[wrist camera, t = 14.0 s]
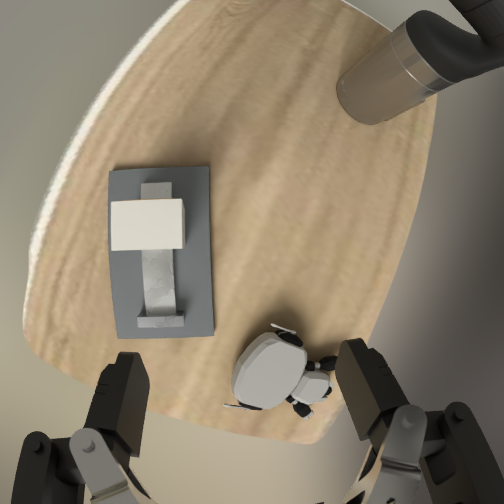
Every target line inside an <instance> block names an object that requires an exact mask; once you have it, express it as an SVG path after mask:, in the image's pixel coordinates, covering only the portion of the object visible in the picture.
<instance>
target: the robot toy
mask: <svg viewBox="0 0 504 504" xmlns="http://www.w3.org/2000/svg"><path fill="white" fill-rule="evenodd" d="M271 325H272V326H273V327H277V328H280V329H283V330H277V331H275V332H265V333H264V334H262V335H260V336H258V337H257V338H256V339H255V340H254V341H253V342H252V343H251V344H250V345H249V346H248V347H247V348H246V350H245V351H244V352H243V353H242V355H241V356H240V357H239V359H238V361H237V363H236V366H235V369H234V371H233V375H232V379H231V387H232V391H233V393H234V396H235V398H236V399H237V400H238V403H239V404H240V405H241V406H236V405H229V404H223V405H224V406H225V407H233V408H242V409H245V410H250V409H251V410H262V409H270V408H273V407H275V406H276V405H278V404H280V403H281V402H282V401H283V400H284V399H286V400H287V401H288V402H289V403H293V408H294V411H295V412H296V413H297V414H299V415H300V416H301V417H302V418H303V419H305V420H308V419H309V417H308V416H309V415H310V416H311V417H312V416H313V415H314V413H313V410H311V409H310V407H309V406H308V404H314V403H316V402H322V401H324V400H325V399H327V398H328V397H327V396H326V395H329V394H330V393H331V392H332V389H333V388H334V384H333V383H332V382H331V381H330V377H329V376H328V375H327V374H325V373H324V372H323V371H322V370H321V369H323V370H326V371H333V370H335V364H336V361H337V357H338V356H335V355H334V356H328V357H324V358H322V359H321V360H320V361H319V362H317V363H314V362H313V361H307V352H306V351H305V349H304V348H303V346H302V345H303V342H302V341H301V340H300V338H299V337H298V336H297V335H295V334H296V332H295V331H294V330H291V329H290V330H288V329H286V328H283V327H280V326H278V325H276V324H274V323H271Z"/></svg>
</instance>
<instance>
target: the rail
mask: <svg viewBox="0 0 504 504" xmlns="http://www.w3.org/2000/svg"><path fill="white" fill-rule="evenodd" d="M163 198H172V182H163V183H143V184H141V199H163ZM142 269H143V284H144V296H145V306H146V312H140V313H139V315H138V316H137V322H138V328H146V327H183V326H184V321H185V319H184V310H180V311H177V309H176V296H175V281H174V262H173V249H152V250H142Z"/></svg>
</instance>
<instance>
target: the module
mask: <svg viewBox="0 0 504 504" xmlns="http://www.w3.org/2000/svg"><path fill="white" fill-rule="evenodd" d="M184 246H185V208H184V205H183V201H182V199H173V198H163V199H138V200H123V201H115V202H111V251H119V250H152V249H182V248H183V247H184Z"/></svg>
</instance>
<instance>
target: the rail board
mask: <svg viewBox="0 0 504 504" xmlns="http://www.w3.org/2000/svg"><path fill="white" fill-rule="evenodd" d="M163 182H172V198H173V199H182V201H183V205H184V208H185V246H184V247H183V248H182V249H173V262H174V281H175V296H176V309H177V311H180V310H184V319H185V321H184V326H183V327H146V328H138V322H137V316H138V315H139V313H140V312H146V306H145V296H144V284H143V269H142V250H119V251H111V202H115V201H123V200H138V199H141V184H143V183H163ZM108 243H109V264H110V278H111V289H112V299H113V308H114V316H115V323H116V330H117V336H118V338H120V339H148V338H185V337H205V336H214V324H213V306H212V286H211V261H210V226H209V166H191V167H161V168H142V169H128V170H115V171H109V188H108Z"/></svg>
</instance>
